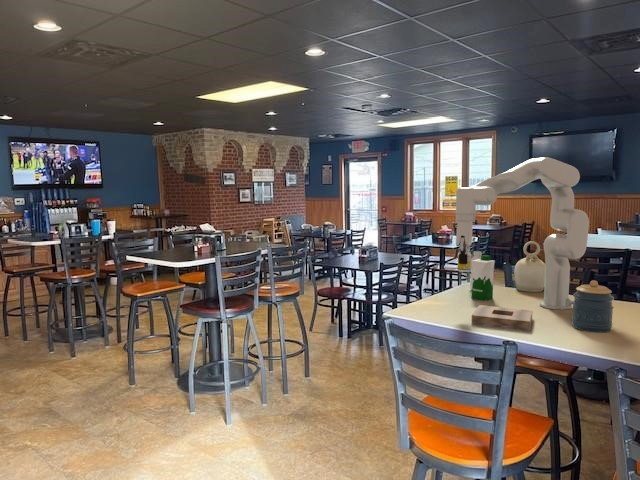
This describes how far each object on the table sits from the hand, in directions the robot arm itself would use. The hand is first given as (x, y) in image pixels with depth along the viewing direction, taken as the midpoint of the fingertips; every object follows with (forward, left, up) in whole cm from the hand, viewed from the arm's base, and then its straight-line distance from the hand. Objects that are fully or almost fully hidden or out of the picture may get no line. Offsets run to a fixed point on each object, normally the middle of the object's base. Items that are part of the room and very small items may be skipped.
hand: (464, 262), depth 192 cm
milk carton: (-3, -33, -21) cm, 39 cm away
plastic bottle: (+2, -50, -21) cm, 54 cm away
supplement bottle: (0, 0, -4) cm, 4 cm away
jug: (-22, -65, -21) cm, 72 cm away
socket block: (-16, +6, -21) cm, 27 cm away
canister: (-46, 0, -21) cm, 51 cm away
